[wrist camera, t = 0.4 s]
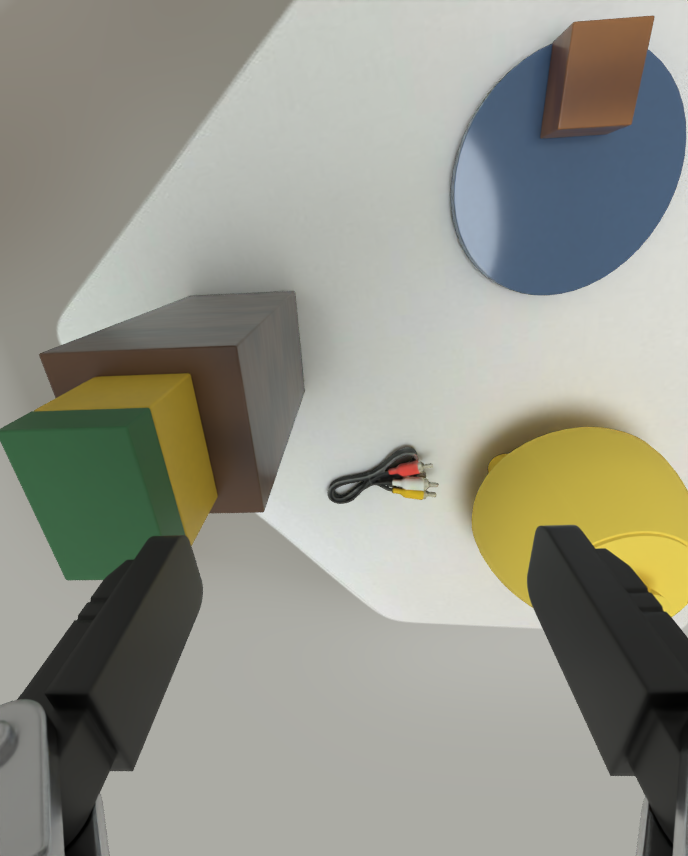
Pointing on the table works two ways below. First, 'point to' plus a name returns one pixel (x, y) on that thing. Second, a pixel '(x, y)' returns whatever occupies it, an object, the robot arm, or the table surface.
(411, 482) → the composite cable
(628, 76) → the brown square block
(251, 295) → the tall dark wooden block
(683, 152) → the plate
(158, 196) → the table surface
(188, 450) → the sponge
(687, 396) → the table surface
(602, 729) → the robot arm
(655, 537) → the teapot
